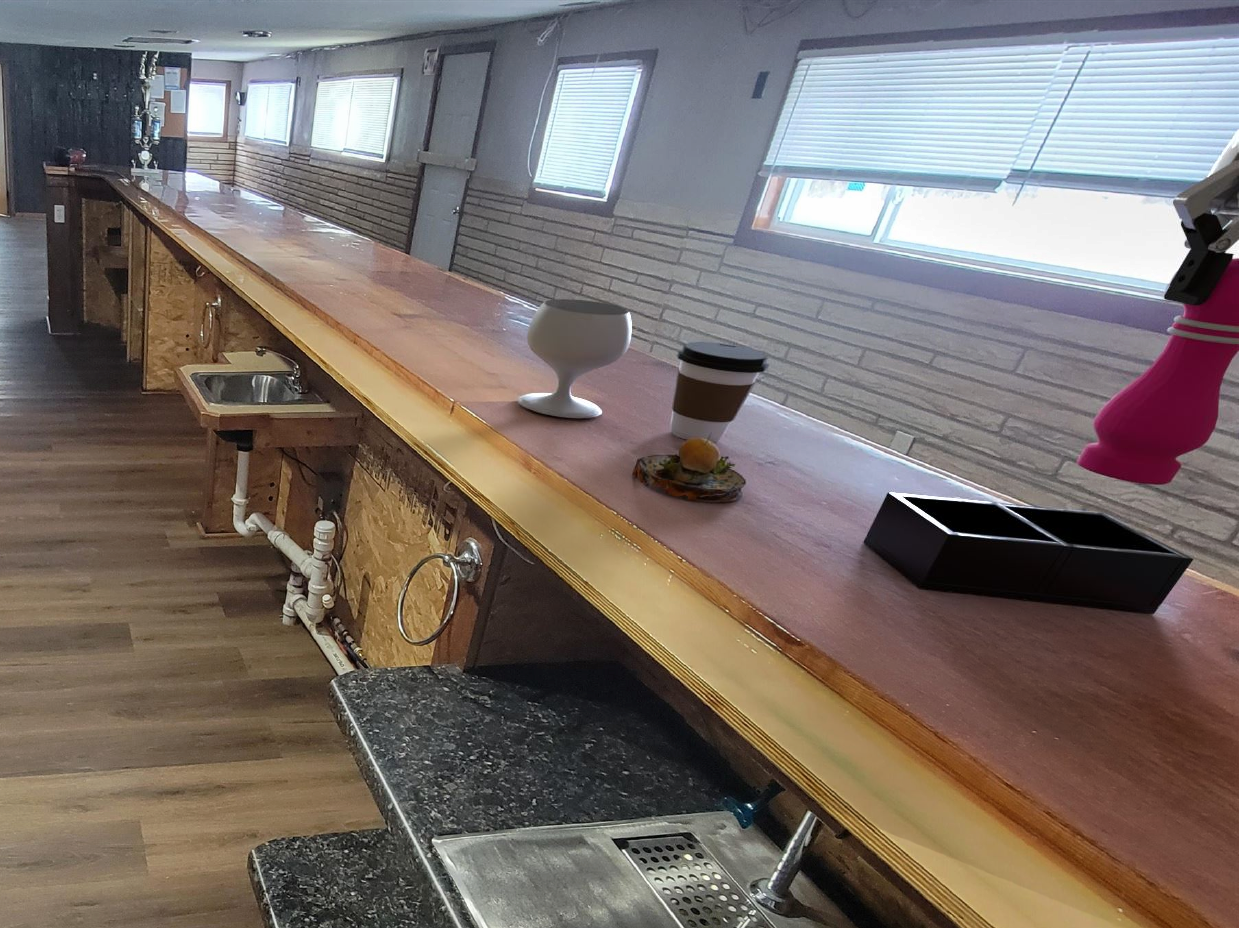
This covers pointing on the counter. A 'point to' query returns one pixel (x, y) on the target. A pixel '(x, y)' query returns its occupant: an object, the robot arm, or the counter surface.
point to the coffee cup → (712, 387)
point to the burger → (692, 473)
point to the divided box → (1024, 553)
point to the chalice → (575, 349)
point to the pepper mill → (1170, 394)
